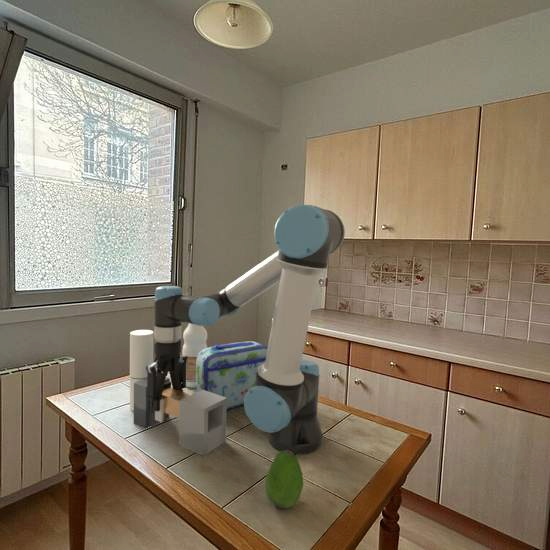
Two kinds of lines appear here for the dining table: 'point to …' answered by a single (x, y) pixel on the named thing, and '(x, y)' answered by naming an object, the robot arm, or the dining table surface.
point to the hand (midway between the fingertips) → (167, 416)
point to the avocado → (284, 480)
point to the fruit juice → (193, 350)
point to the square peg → (170, 400)
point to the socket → (144, 405)
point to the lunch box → (229, 370)
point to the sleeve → (202, 422)
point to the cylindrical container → (139, 358)
